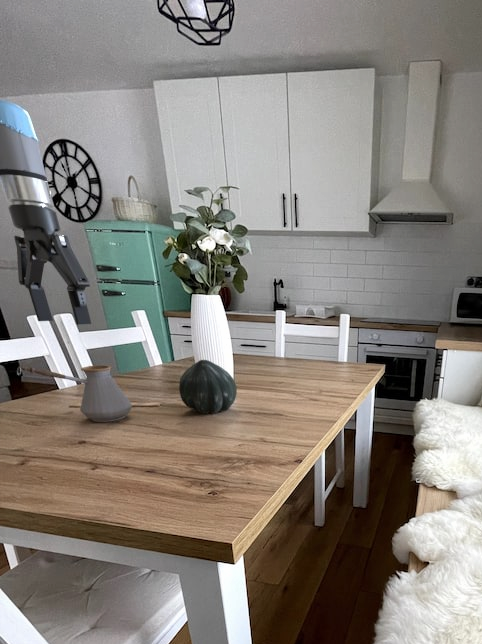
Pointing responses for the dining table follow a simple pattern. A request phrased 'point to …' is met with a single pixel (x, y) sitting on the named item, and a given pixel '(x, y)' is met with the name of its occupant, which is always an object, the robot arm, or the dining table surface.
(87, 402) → the coffee pot
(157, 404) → the oak strip
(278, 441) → the dining table surface
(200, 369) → the squash
